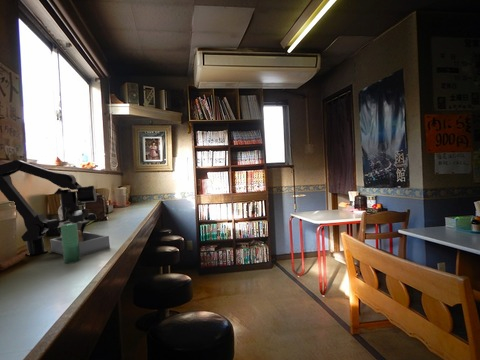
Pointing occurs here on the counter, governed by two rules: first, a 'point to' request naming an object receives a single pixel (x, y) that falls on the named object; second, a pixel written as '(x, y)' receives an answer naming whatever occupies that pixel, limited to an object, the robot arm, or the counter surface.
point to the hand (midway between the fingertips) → (73, 240)
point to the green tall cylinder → (70, 243)
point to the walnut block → (80, 236)
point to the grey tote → (84, 243)
